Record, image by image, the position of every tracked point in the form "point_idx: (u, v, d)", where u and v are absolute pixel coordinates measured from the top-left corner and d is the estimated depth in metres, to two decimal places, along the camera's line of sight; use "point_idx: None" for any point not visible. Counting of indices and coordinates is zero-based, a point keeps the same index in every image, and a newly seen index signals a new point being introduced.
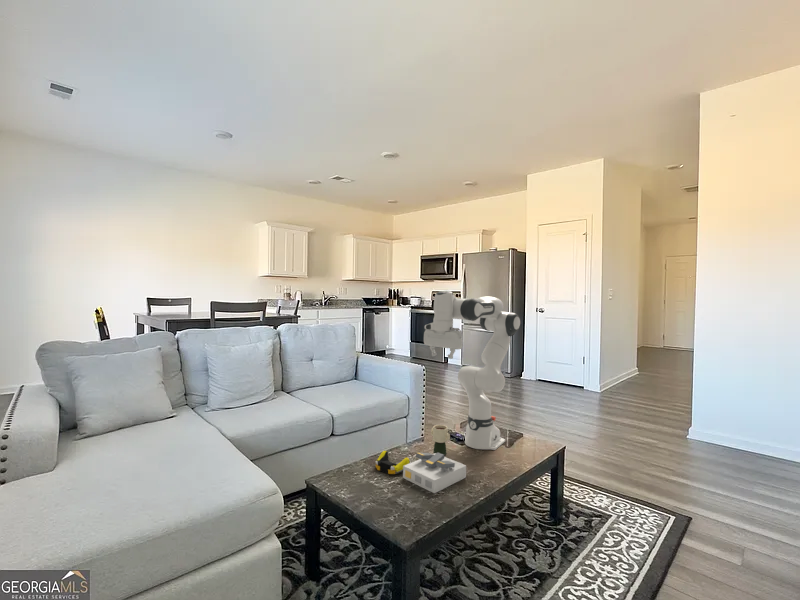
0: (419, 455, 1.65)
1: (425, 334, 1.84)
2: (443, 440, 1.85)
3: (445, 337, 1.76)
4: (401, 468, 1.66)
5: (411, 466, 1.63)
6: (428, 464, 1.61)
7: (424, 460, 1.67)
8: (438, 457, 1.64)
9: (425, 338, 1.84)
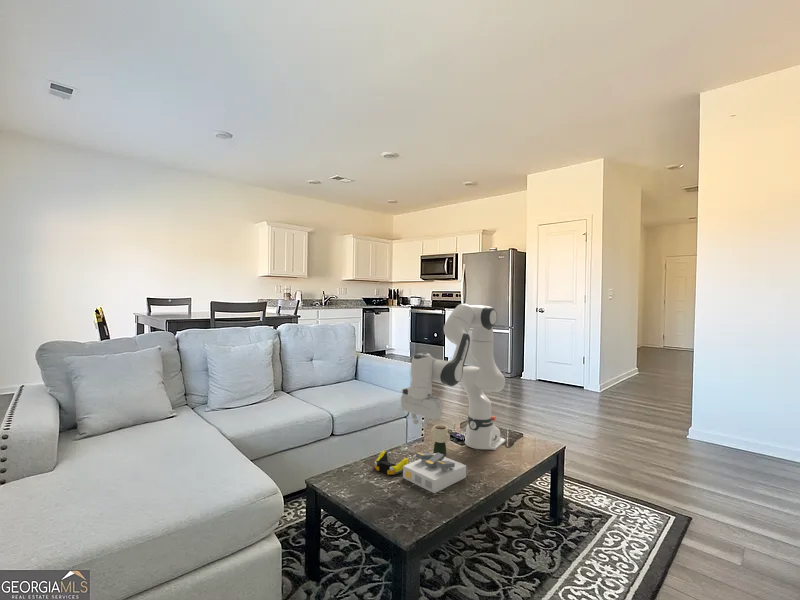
0: (419, 455, 1.65)
1: (402, 398, 1.70)
2: (443, 440, 1.85)
3: (423, 405, 1.62)
4: (400, 468, 1.66)
5: (411, 466, 1.63)
6: (428, 464, 1.61)
7: (424, 460, 1.67)
8: (438, 457, 1.64)
9: (402, 403, 1.70)
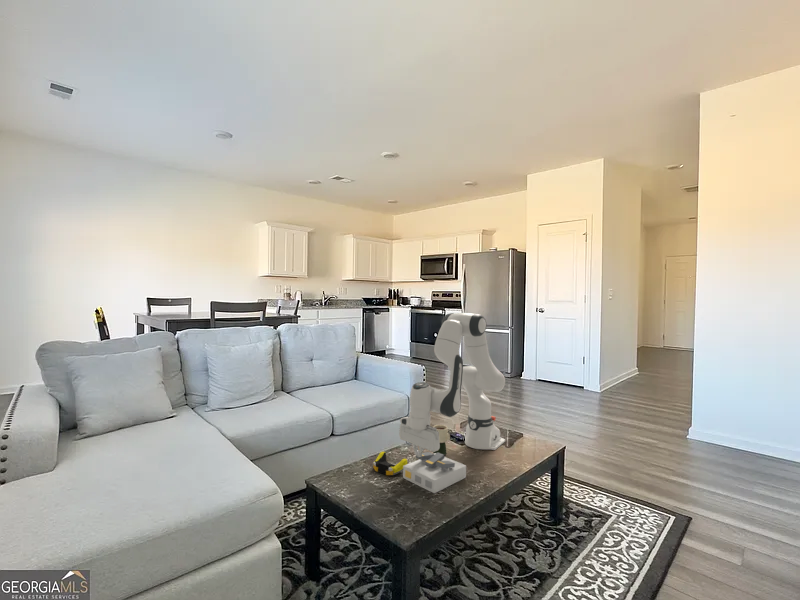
0: None
1: (401, 428, 1.69)
2: (443, 440, 1.85)
3: (422, 436, 1.62)
4: (399, 469, 1.65)
5: (411, 466, 1.63)
6: (428, 464, 1.61)
7: (424, 460, 1.67)
8: (438, 457, 1.64)
9: (401, 432, 1.70)
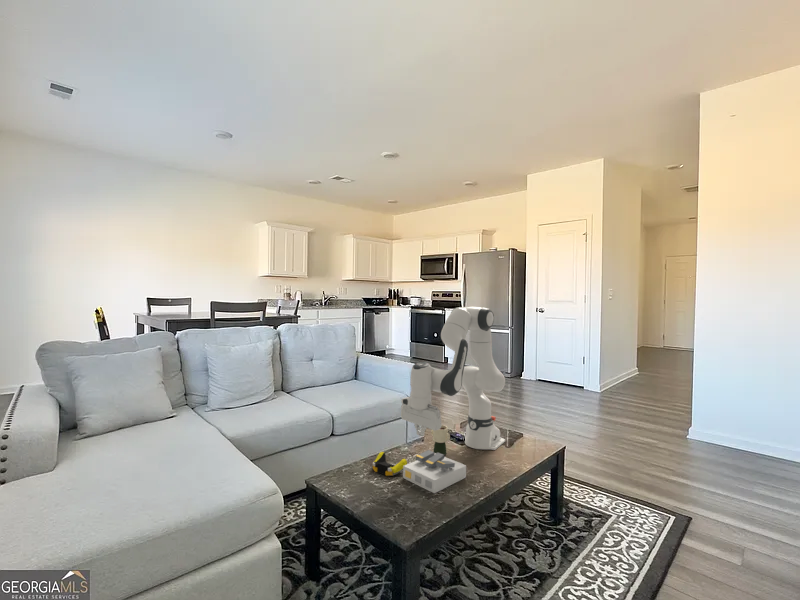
0: (419, 458, 1.65)
1: (402, 408, 1.70)
2: (443, 440, 1.85)
3: (423, 415, 1.62)
4: (398, 469, 1.65)
5: (411, 466, 1.63)
6: (428, 464, 1.61)
7: None
8: (438, 457, 1.64)
9: (402, 412, 1.70)
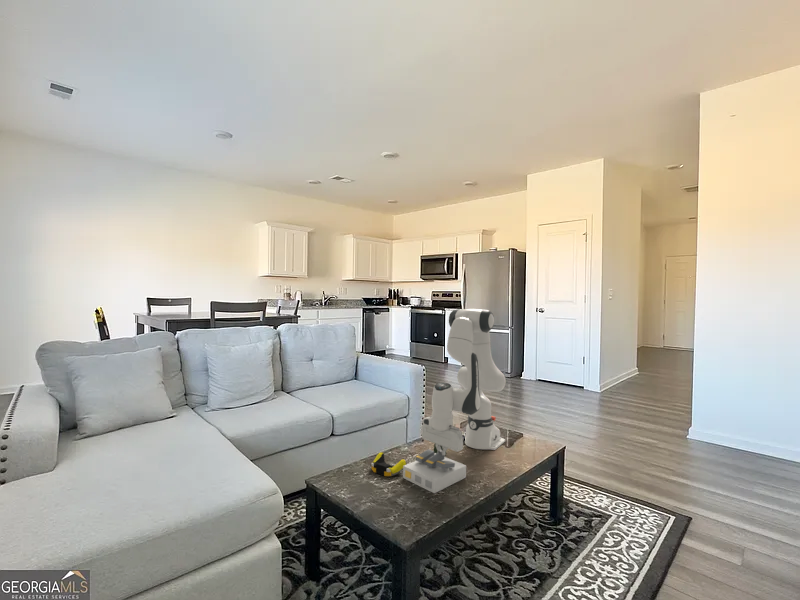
0: (419, 459, 1.65)
1: (423, 428, 1.71)
2: None
3: (445, 436, 1.63)
4: (397, 470, 1.64)
5: (411, 466, 1.63)
6: (428, 464, 1.61)
7: None
8: (438, 457, 1.64)
9: (423, 432, 1.71)
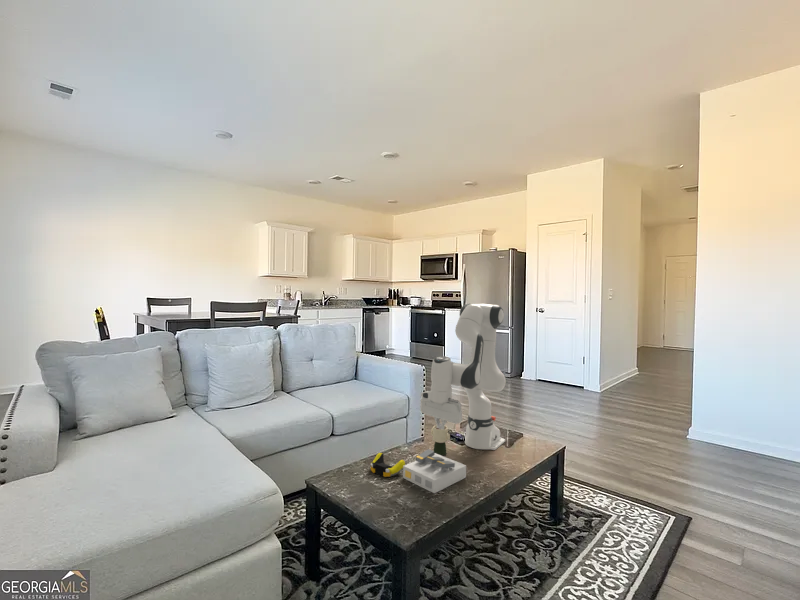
0: (419, 459, 1.65)
1: (422, 402, 1.71)
2: (443, 440, 1.85)
3: (444, 409, 1.63)
4: (396, 471, 1.64)
5: (411, 466, 1.63)
6: (428, 459, 1.61)
7: None
8: (439, 458, 1.64)
9: (422, 406, 1.71)
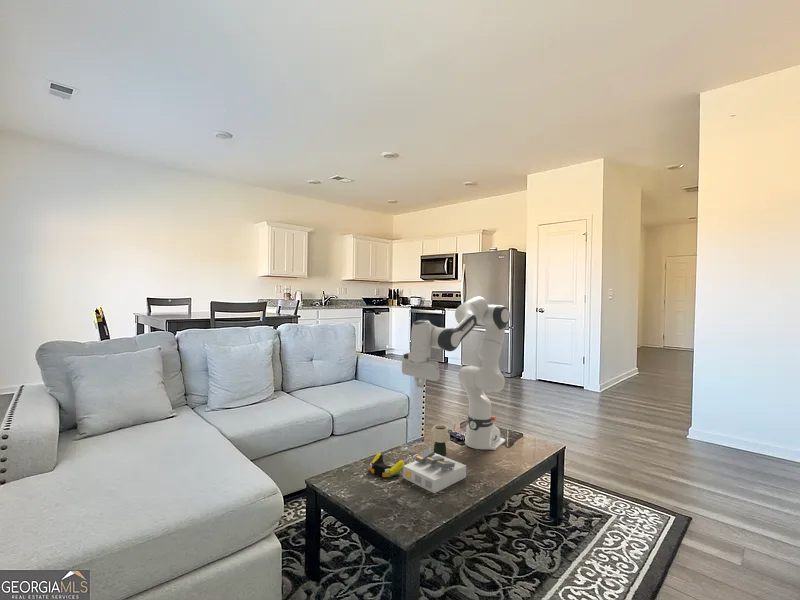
0: (419, 459, 1.65)
1: (403, 363, 1.81)
2: (443, 440, 1.85)
3: (423, 368, 1.74)
4: (395, 471, 1.64)
5: (411, 466, 1.63)
6: (428, 460, 1.61)
7: None
8: (439, 458, 1.64)
9: (403, 367, 1.82)
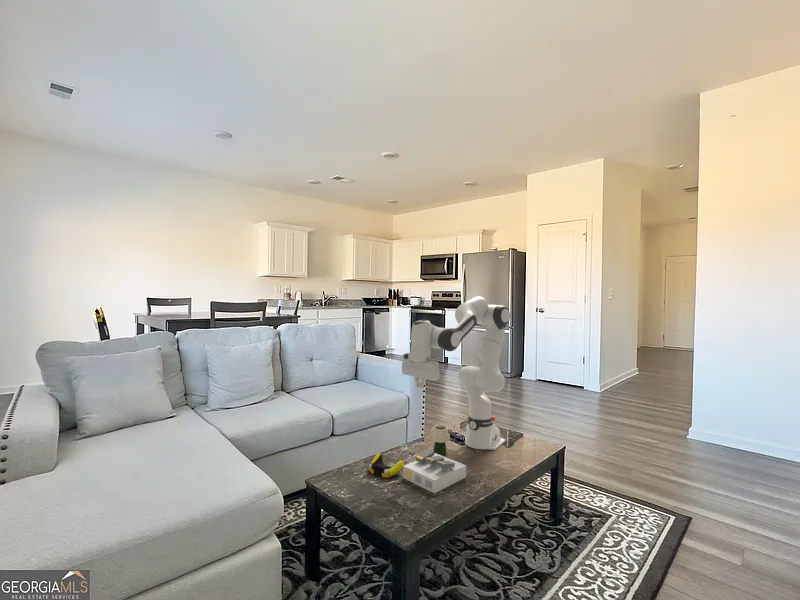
0: (419, 459, 1.65)
1: (403, 363, 1.81)
2: (443, 440, 1.85)
3: (423, 368, 1.74)
4: (395, 471, 1.63)
5: (411, 466, 1.63)
6: (428, 460, 1.61)
7: None
8: (438, 458, 1.64)
9: (403, 367, 1.82)
